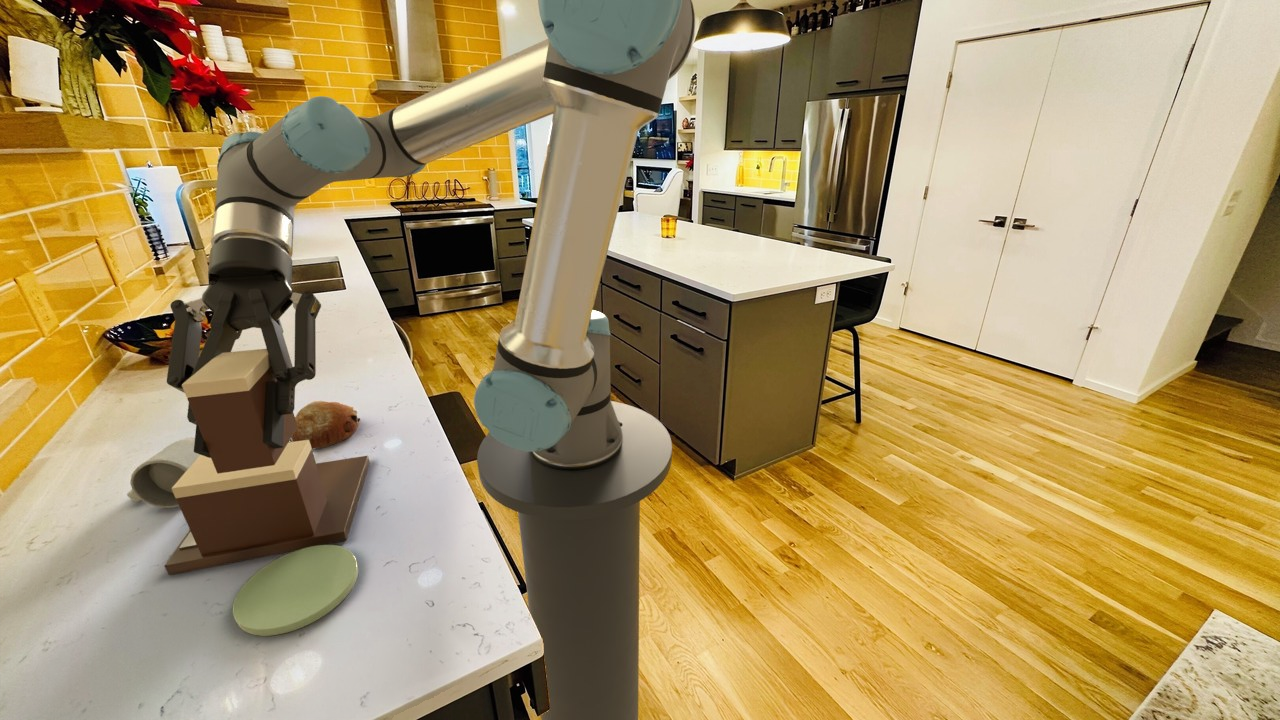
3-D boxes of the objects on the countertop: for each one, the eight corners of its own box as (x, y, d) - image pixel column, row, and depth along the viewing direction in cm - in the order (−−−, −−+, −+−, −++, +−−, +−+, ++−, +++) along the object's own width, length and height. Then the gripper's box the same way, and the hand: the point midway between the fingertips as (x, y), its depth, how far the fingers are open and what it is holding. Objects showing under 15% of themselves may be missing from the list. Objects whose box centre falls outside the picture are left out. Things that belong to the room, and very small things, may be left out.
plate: (366, 541, 65) (364, 535, 64) (347, 618, 54) (345, 612, 54) (258, 563, 61) (256, 556, 61) (215, 649, 51) (212, 642, 50)
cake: (327, 500, 70) (309, 439, 66) (314, 534, 64) (292, 469, 60) (225, 518, 66) (200, 454, 62) (201, 556, 60) (171, 488, 56)
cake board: (370, 463, 80) (368, 455, 80) (346, 540, 65) (344, 531, 64) (230, 484, 75) (227, 476, 75) (168, 575, 59) (163, 565, 59)
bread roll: (316, 440, 93) (284, 409, 89) (367, 410, 95) (337, 379, 90) (307, 469, 85) (271, 437, 81) (363, 436, 86) (330, 403, 82)
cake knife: (228, 480, 74) (226, 473, 73) (244, 477, 74) (242, 471, 74) (179, 549, 61) (176, 542, 61) (199, 546, 62) (195, 538, 61)
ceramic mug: (233, 470, 78) (216, 428, 75) (204, 504, 71) (183, 459, 68) (154, 480, 76) (133, 437, 73) (116, 516, 69) (91, 470, 66)
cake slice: (298, 426, 58) (273, 347, 54) (274, 465, 51) (244, 377, 47) (248, 433, 57) (219, 352, 53) (217, 474, 50) (181, 384, 46)
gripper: (349, 266, 64) (351, 443, 56) (179, 276, 59) (155, 472, 51) (329, 230, 57) (328, 426, 49) (134, 237, 52) (98, 457, 44)
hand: (240, 449), depth 50 cm, fingers closed on cake slice, 5 cm apart
